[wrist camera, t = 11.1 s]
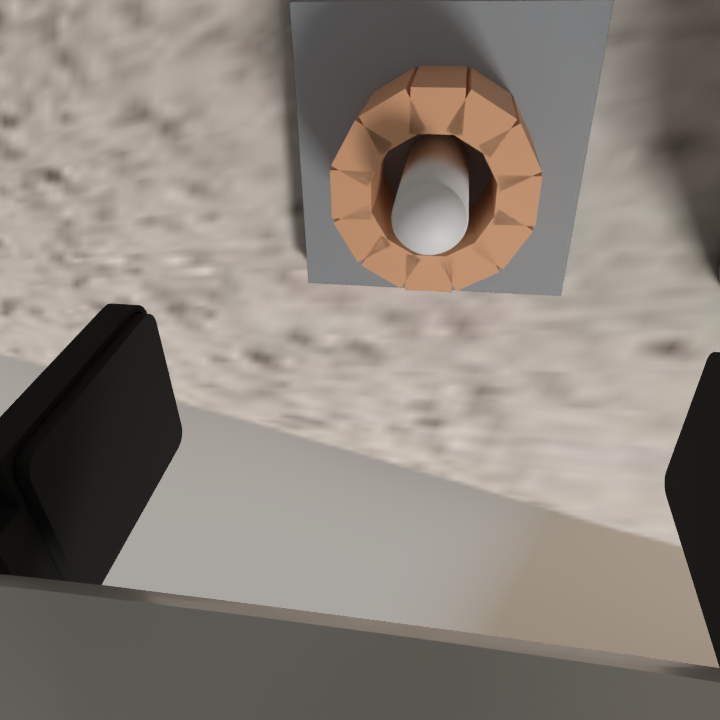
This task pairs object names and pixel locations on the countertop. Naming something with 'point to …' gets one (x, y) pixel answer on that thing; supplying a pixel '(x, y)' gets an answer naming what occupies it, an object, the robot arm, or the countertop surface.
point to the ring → (446, 117)
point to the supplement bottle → (719, 267)
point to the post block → (447, 152)
